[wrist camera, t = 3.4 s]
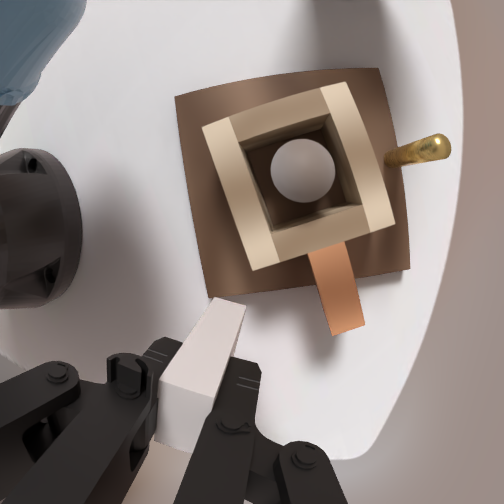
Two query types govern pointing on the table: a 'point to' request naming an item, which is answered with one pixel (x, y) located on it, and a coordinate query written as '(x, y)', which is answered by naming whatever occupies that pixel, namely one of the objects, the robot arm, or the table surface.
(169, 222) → the table surface
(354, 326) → the hollow square frame
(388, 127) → the base
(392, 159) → the dowel
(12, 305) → the robot arm
